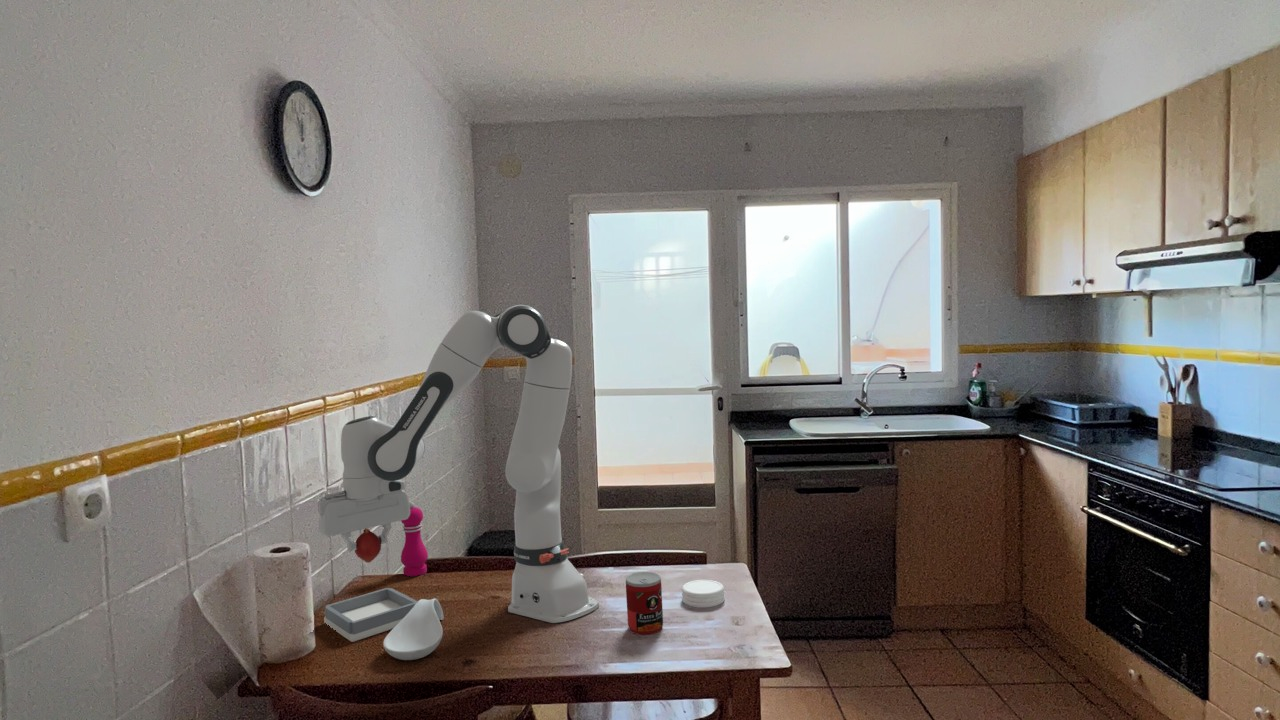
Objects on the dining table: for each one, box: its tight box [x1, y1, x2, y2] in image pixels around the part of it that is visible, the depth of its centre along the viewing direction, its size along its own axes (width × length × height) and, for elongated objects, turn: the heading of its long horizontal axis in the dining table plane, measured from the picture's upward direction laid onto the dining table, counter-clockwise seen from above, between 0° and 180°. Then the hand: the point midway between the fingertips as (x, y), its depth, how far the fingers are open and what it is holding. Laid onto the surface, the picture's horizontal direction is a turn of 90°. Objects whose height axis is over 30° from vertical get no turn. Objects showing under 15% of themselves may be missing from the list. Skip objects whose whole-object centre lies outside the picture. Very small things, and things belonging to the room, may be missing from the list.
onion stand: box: [323, 587, 419, 643], centre depth 167 cm, size 16×16×4 cm
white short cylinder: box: [681, 579, 726, 609], centre depth 170 cm, size 10×10×4 cm
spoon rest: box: [382, 598, 445, 661], centre depth 154 cm, size 24×12×7 cm, turn 4°
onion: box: [354, 528, 382, 564], centre depth 167 cm, size 6×6×8 cm
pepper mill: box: [400, 501, 429, 577], centre depth 201 cm, size 7×7×20 cm
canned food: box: [625, 571, 664, 636], centre depth 156 cm, size 8×8×11 cm
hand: (367, 546), depth 167 cm, fingers closed on onion, 6 cm apart
